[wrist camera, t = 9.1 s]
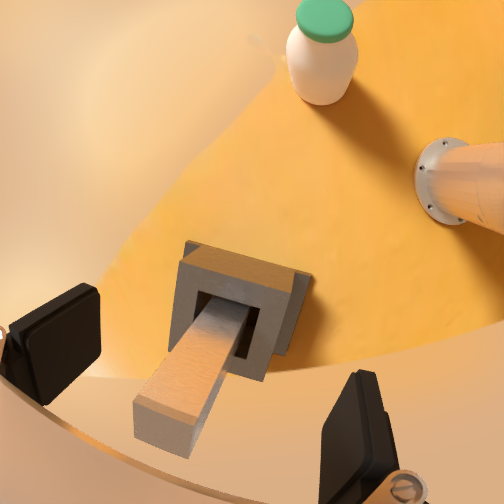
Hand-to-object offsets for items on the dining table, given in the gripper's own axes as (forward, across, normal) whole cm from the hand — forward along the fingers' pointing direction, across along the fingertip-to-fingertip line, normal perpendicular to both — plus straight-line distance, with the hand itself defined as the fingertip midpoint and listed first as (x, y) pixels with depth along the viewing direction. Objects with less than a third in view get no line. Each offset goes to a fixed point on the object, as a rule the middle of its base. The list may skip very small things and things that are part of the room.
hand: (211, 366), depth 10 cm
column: (+28, +4, +14) cm, 32 cm away
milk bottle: (+34, 0, -20) cm, 40 cm away
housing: (+34, +4, +14) cm, 37 cm away
